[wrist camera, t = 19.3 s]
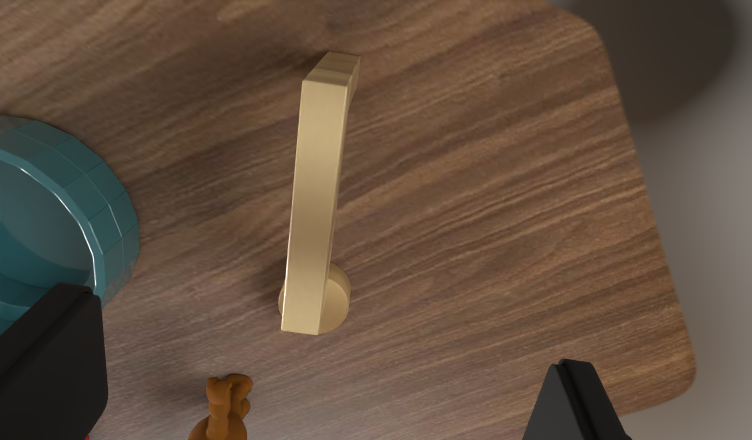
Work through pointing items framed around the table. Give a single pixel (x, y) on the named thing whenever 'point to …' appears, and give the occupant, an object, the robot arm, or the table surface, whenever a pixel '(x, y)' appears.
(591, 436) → the robot arm
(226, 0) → the table surface
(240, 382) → the toy figurine
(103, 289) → the bowl
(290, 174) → the table surface
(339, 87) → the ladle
